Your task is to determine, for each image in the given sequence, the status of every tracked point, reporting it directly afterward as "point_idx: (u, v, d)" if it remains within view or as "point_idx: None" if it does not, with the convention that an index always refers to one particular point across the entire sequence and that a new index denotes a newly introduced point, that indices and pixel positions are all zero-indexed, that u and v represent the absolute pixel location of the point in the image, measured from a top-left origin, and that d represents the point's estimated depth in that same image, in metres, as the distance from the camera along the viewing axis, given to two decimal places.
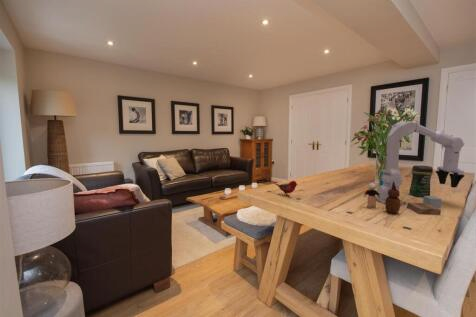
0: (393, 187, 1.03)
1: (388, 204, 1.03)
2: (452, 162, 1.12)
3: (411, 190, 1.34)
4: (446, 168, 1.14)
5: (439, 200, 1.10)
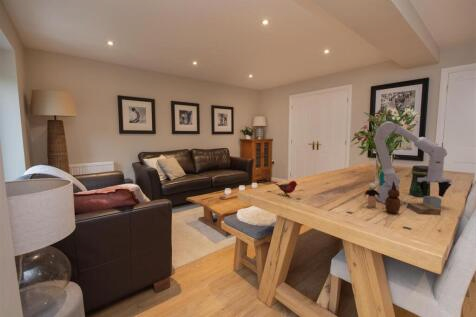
0: (393, 187, 1.03)
1: (388, 204, 1.03)
2: None
3: (411, 190, 1.34)
4: None
5: (439, 200, 1.10)
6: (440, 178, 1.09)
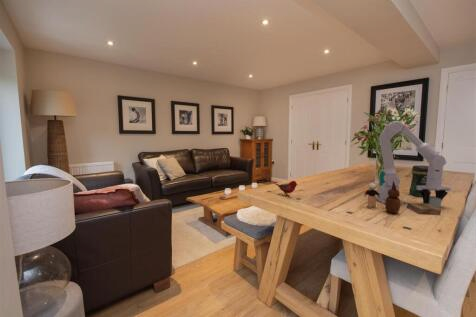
0: (393, 187, 1.03)
1: (388, 204, 1.03)
2: (427, 179, 1.13)
3: (411, 190, 1.34)
4: None
5: (439, 200, 1.10)
6: (439, 186, 1.09)
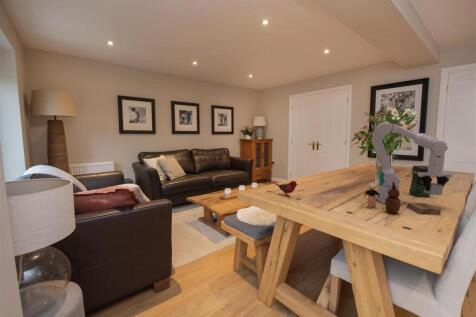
0: (393, 187, 1.03)
1: (388, 204, 1.03)
2: (428, 165, 1.12)
3: (411, 190, 1.34)
4: None
5: (441, 186, 1.09)
6: (441, 173, 1.08)
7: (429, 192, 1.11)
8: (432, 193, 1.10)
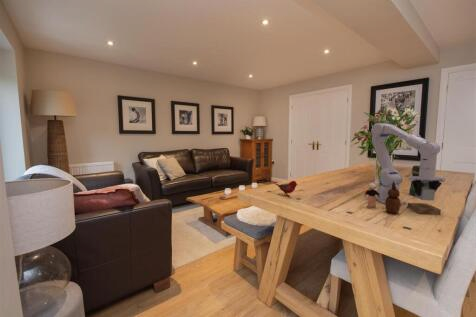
0: (393, 187, 1.03)
1: (388, 204, 1.03)
2: None
3: (411, 190, 1.34)
4: None
5: (432, 191, 1.03)
6: (432, 177, 1.02)
7: (420, 197, 1.05)
8: (423, 198, 1.03)
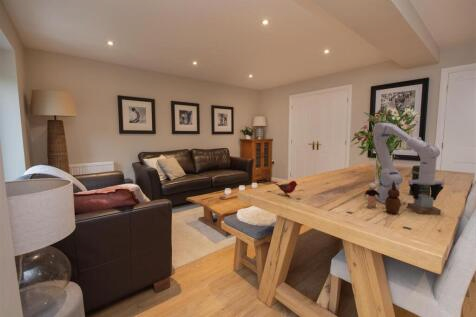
0: (393, 187, 1.03)
1: (388, 204, 1.03)
2: (419, 172, 1.06)
3: (411, 190, 1.34)
4: None
5: (431, 199, 1.03)
6: (432, 180, 1.02)
7: (419, 205, 1.05)
8: (422, 206, 1.04)
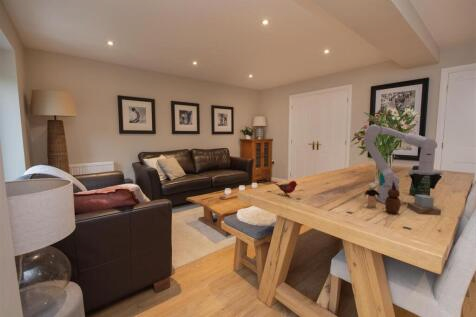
0: (393, 187, 1.03)
1: (388, 204, 1.03)
2: (419, 163, 1.13)
3: (411, 190, 1.34)
4: None
5: (432, 199, 1.03)
6: (431, 170, 1.09)
7: (420, 205, 1.05)
8: (423, 206, 1.04)
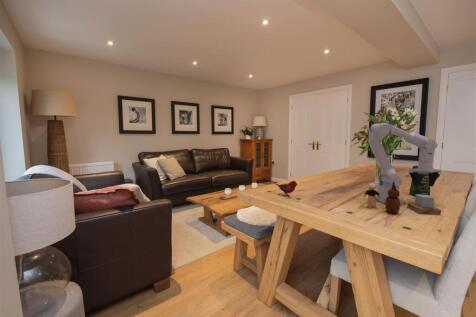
0: (393, 187, 1.03)
1: (388, 204, 1.03)
2: None
3: (411, 190, 1.34)
4: None
5: (432, 199, 1.03)
6: (430, 169, 1.14)
7: (420, 205, 1.05)
8: (423, 206, 1.04)
